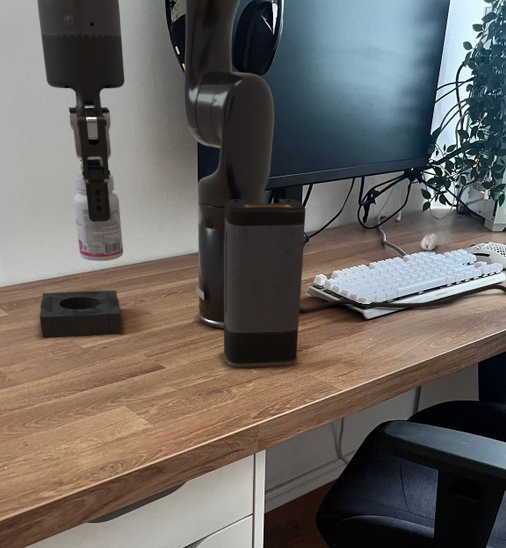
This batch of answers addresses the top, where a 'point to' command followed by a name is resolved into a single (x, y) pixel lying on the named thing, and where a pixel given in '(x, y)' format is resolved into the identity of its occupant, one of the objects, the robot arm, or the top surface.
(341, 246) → the top surface
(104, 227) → the pill bottle
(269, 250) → the electronic device
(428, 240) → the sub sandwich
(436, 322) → the top surface
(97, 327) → the socket plate
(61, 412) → the top surface
